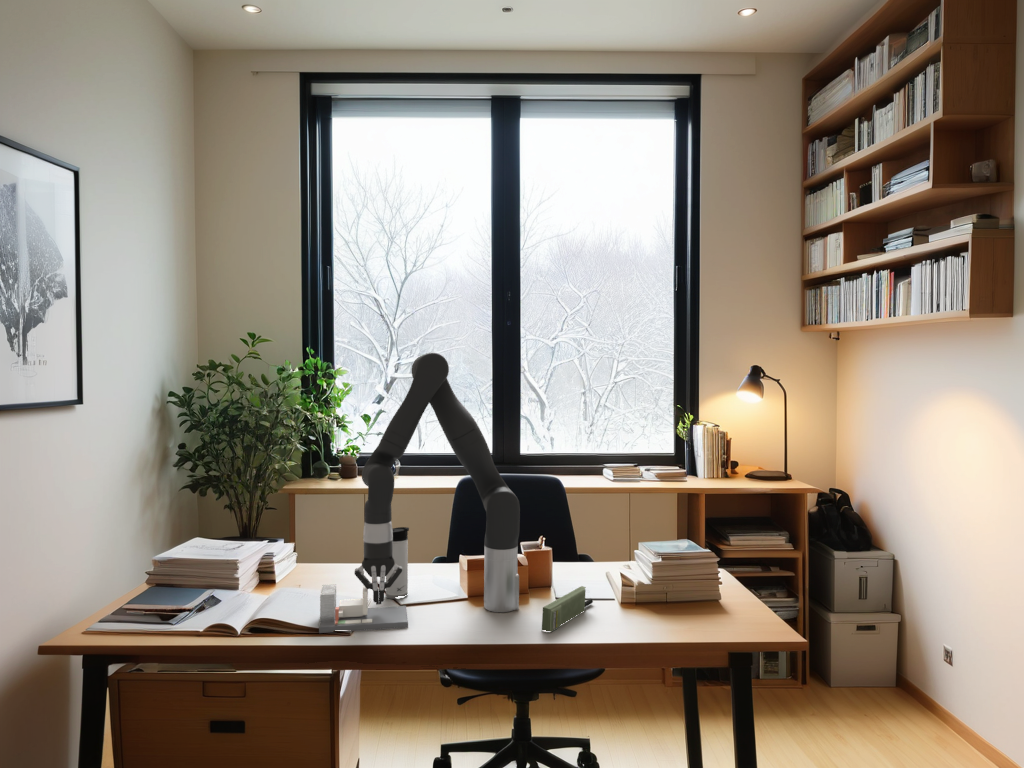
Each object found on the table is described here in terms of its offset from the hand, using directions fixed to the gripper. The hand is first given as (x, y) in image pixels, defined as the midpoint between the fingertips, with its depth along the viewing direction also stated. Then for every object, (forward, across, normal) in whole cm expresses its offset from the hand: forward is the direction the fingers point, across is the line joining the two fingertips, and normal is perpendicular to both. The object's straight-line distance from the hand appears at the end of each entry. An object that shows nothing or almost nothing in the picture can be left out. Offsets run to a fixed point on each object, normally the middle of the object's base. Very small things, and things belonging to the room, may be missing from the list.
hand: (378, 603), depth 185 cm
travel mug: (+4, -5, -18) cm, 19 cm away
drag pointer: (+2, +10, +5) cm, 12 cm away
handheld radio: (+5, -50, +7) cm, 51 cm away
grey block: (+3, +13, 0) cm, 13 cm away
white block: (+2, +6, +1) cm, 7 cm away
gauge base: (+4, +4, +2) cm, 6 cm away
